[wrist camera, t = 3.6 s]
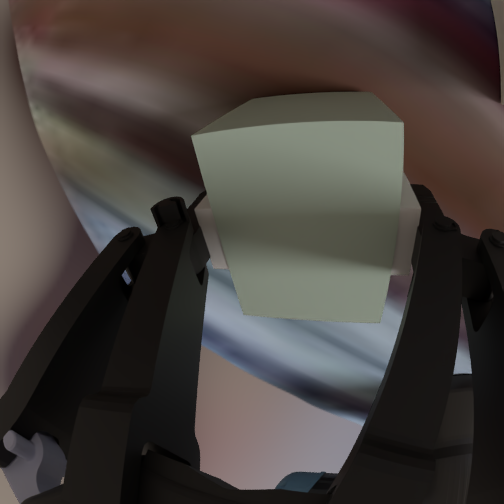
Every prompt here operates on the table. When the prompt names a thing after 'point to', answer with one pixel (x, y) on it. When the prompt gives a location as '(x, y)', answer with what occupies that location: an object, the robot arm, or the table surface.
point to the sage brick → (307, 202)
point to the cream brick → (500, 37)
